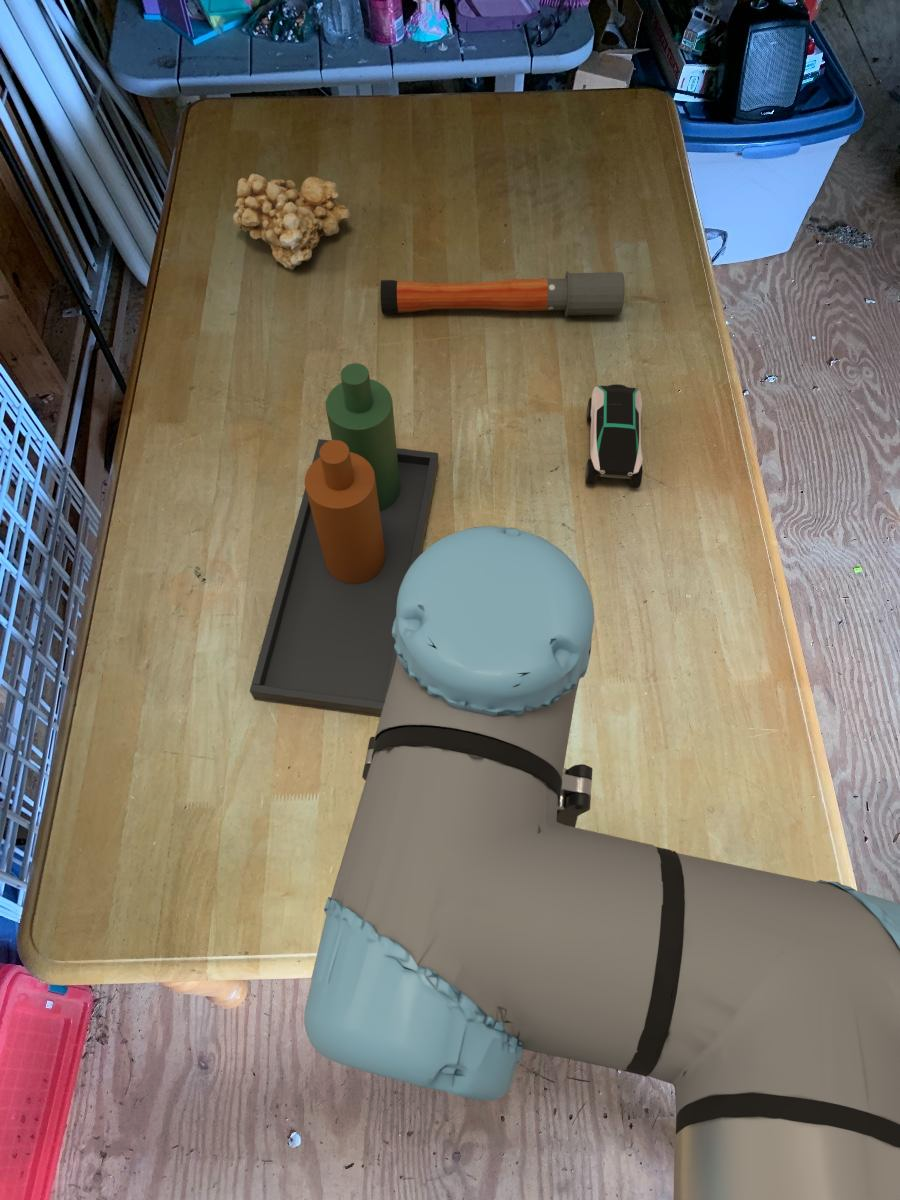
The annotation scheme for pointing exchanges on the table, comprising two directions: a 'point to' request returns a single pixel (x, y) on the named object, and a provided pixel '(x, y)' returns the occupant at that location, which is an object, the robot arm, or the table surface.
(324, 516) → the amber bottle
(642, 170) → the table surface
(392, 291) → the stick grenade
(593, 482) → the toy car
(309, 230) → the mineral formation
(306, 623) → the tray
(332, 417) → the green bottle
